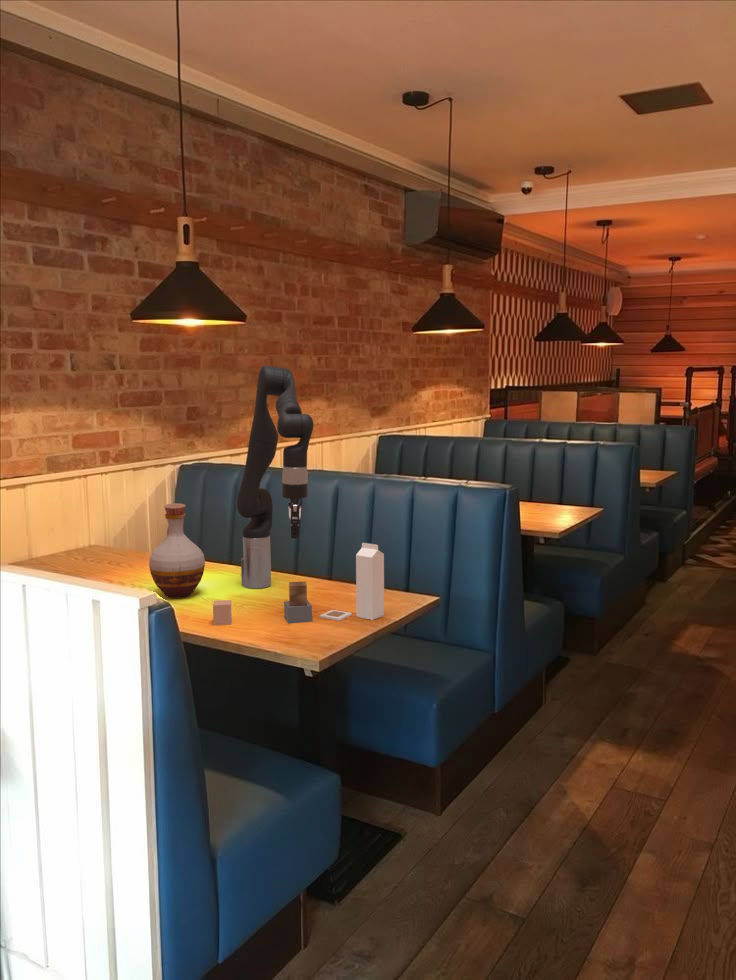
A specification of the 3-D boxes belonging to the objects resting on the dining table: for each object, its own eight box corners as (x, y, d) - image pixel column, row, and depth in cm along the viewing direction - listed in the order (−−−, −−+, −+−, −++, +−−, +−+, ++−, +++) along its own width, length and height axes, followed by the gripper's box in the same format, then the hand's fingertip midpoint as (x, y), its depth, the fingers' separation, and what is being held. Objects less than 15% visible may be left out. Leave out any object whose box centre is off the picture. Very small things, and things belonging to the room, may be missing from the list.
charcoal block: (288, 624, 241) (288, 607, 240) (284, 617, 248) (284, 601, 247) (312, 622, 243) (311, 605, 242) (307, 615, 250) (307, 599, 249)
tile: (319, 617, 247) (319, 614, 247) (332, 611, 253) (332, 609, 253) (339, 620, 243) (339, 618, 243) (351, 614, 249) (351, 612, 249)
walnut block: (289, 606, 242) (289, 586, 241) (289, 601, 247) (289, 581, 246) (306, 605, 242) (306, 585, 241) (306, 601, 247) (305, 581, 246)
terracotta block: (213, 625, 240) (212, 605, 239) (214, 620, 245) (214, 600, 244) (231, 624, 240) (230, 604, 240) (231, 619, 245) (231, 600, 245)
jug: (143, 591, 279) (139, 502, 274) (196, 584, 287) (193, 498, 283) (157, 605, 261) (153, 510, 257) (212, 597, 269) (209, 506, 265)
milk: (368, 612, 252) (368, 540, 249) (384, 615, 248) (384, 543, 246) (356, 616, 247) (355, 544, 244) (372, 620, 244) (371, 546, 241)
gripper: (308, 485, 239) (307, 540, 242) (307, 478, 253) (306, 530, 256) (282, 485, 238) (281, 540, 241) (282, 477, 252) (282, 530, 255)
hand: (294, 535), depth 248 cm, fingers open, 8 cm apart
